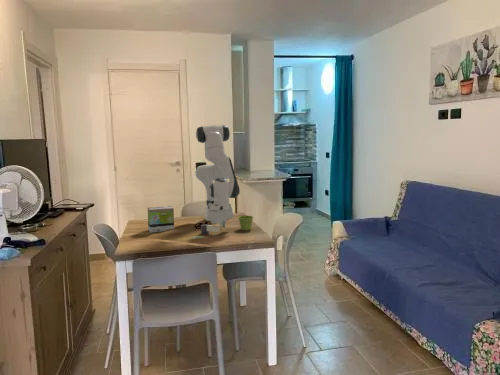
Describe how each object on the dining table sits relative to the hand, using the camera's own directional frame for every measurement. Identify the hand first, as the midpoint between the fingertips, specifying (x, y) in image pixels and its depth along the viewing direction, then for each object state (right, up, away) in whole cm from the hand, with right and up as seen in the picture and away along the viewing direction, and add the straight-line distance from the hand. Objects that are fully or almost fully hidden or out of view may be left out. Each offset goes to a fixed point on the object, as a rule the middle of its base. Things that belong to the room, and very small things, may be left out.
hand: (222, 228), depth 239 cm
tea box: (-40, -3, +16) cm, 43 cm away
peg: (-6, -3, -3) cm, 7 cm away
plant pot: (+14, -3, +9) cm, 17 cm away
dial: (-10, -4, -1) cm, 11 cm away
